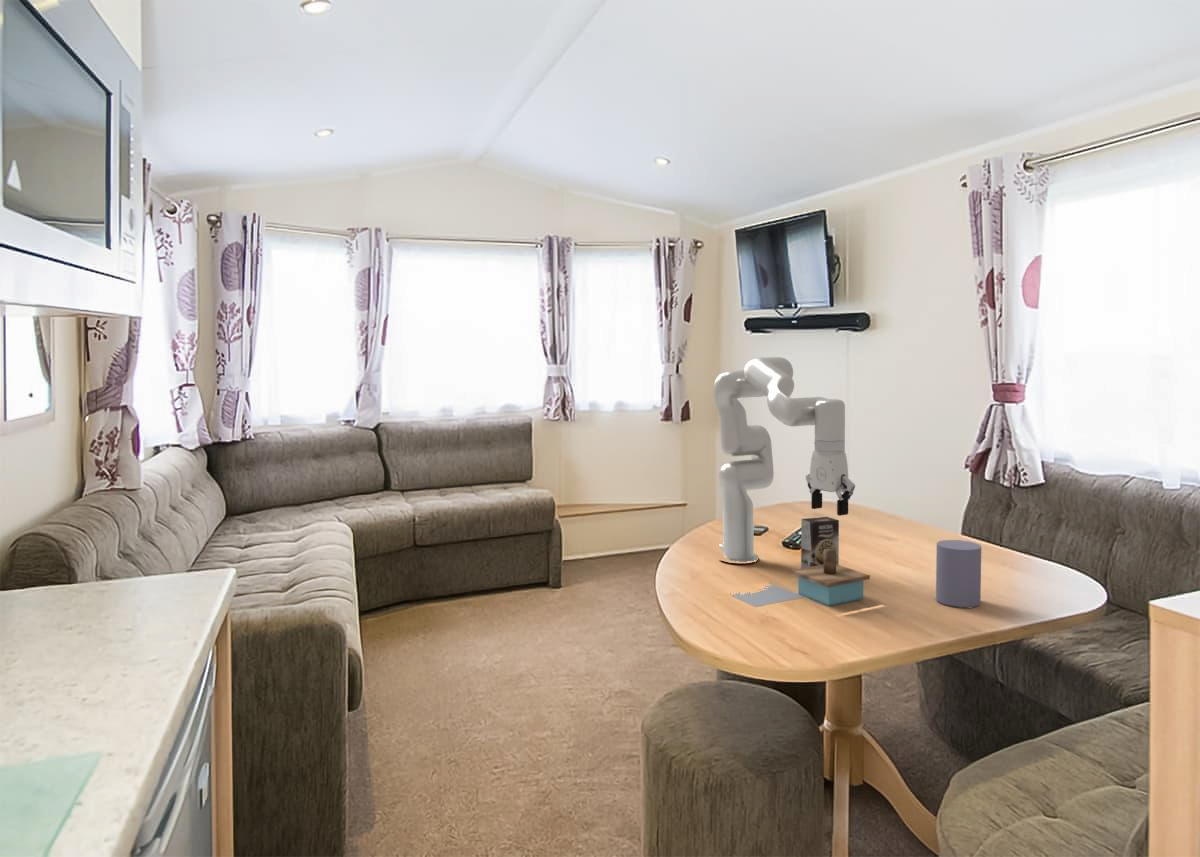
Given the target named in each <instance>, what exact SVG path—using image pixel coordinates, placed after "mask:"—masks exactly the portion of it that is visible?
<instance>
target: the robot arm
mask: <svg viewBox="0 0 1200 857" xmlns="http://www.w3.org/2000/svg"><path fill="white" fill-rule="evenodd" d="M793 377H794V369H793V366H792V363H791V362H790V361H789V359H787V358H785V357H781V356H779V357H777V356H775V357H774V356H773V357H771V356H770V357H756V358H753V359H751V360H749V361H748V362H747V363H746V364H745V366H744V369H741V370H728V371H724V372H722V373H720V374H719V375H717V377H716V378H715V381H714V383H713V397H714V398H713V399H714V403H715V405H716V409H717V413H718V420H719V430H720V431H719V433H720V444H721V449H722V452H723V453H724V455H726V456H727V457H744V456H745V457H746V456H747V457H748V456H750V457H751V459H744V460H743V459H742V460H732V461H729V462H726V463H724V464H723V465H722V466H721V467H720V469H719V472H718V479H719V484H720V489H721V497H722V498H721V499H722V500H721V501H722V543H720V544H719V545H718V547H719V549H722V552H721V553H723V555H724V557H725V558H728V559H729V560H730V561H735V562H736V561H739V562H747V561H754V560H757V559H758V558H759V559H760V556H759V555H758V554H756V553H754V550H755V548H754V546H755V545H754V543H755V542H754V538H755V537H754V534H755V533H754V531H755V530H754V529H755V528H754V526H755V525H754V503H753V501H752V499H751V498H750V496H749V495H748V493H747V491H750V490H752V491H753V490H761V489H766V488H768V487H770V486H771V485H772V484H773V481H774V461H773V460H774V458H773V447H772V439H771V436H770V434H769V432H768V430H767V428H765V427H764V426H762V425H761V424H760V425H759V424H751V425H748V420H747V413H746V412H747V411H746V409H745V407H744V406H743V404H742V403H741V402H740V400H738V399H741V398H742V399H744V398H746V399H747V398H761V397H766V402H767V407H768V410H769V412H770V414H771V415H772V416H773V417H774V418H776V419H777V420H778V421H779V422H781V423H782V424H784V425H785V426H788V427H805V426H806V427H807V426H814V443H813V444H814V450H813V451H812V454H811V459H810V467H809V474H807V475H806V476H805V480H806V483H807V487H808V489H809V494H811V497H810V498H811V503H810V504H811V507H810V508H811V509H812V510H816V509H822V508H823V493H822V491H824V492H828V493H829V492H830V493H835V494H836V497H837V498H838V499H837V501H836V515H837V516H848V514H849V500H851V497H852V496H853V495H854V490H855V488H856V484H855V483H854V482H853V481H852V480H850V478H849V469H848V468H849V466H848V459H847V458H848V457H847V454H846V452H845V451H846V404H845V402H844V401H843V400H842V399H838V398H837V399H836V398H832V399H831V398H825V397H822V396H815V397H813V396H812V397H811V396H810V397H809V396H807V397H794V398H792V397H791V395H792V394H793V392H794V390H795V381H794V379H793Z"/></svg>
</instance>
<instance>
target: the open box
mask: <svg viewBox="0 0 1200 857" xmlns="http://www.w3.org/2000/svg"><path fill="white" fill-rule="evenodd" d="M797 580H798V581H797V582H798V584H797V586H798V591H797V592H798V593H797V594H799V595H801V596H804V597H803V598H807V599H809V600H812V601H815V602H817V603H819V604H820V605H821V604H822V605H824V606H826V607H834V606H837V605H841V604H847V603H851V602H856V601H857V602H858V601H861V600H864V580H863V581H858V582H853V583H848V584H842V585H837V586H832V587H825V586H823V585H820V584H817V583H815V582H812V581H809V580H807V579H804V578H801V577H799V576H797Z"/></svg>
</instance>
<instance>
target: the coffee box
mask: <svg viewBox="0 0 1200 857" xmlns="http://www.w3.org/2000/svg"><path fill="white" fill-rule="evenodd" d="M839 529H840V520H838V519H836V518H833V517H829V516H821V517H820V516H819V517H809V518H801V532H800V533H801V535H800V536H801V537H800V538H801V539H800V540H801V541H800V542H801V548H800V549H801V551H800V555H801V556H800V568H806V567H812V566H817V565H823V564H824V549H834V550H836V564H837V565H839V562H840V559H839V555H840V554H839V552H840V550H839V549H840V548H839V546H840V545H839V544H840V543H839V542H840V541H839V539H840V538H839V536H840V535H839V534H840V530H839Z"/></svg>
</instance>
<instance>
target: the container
mask: <svg viewBox="0 0 1200 857" xmlns="http://www.w3.org/2000/svg"><path fill="white" fill-rule="evenodd" d="M935 561H936V566H935V567H936V569H935V572H936V573H935V574H936V575H935V577H936V578H935V585H936V586H935V589H936V590H935V599H936V601H937V602H938V603H940V604H942V605H944V604H945V605H944V606H947V605H948V607H951V606H952V608H957V607H973V608H976V607H978V606H980V605H981V597H982V596H981V590H982V589H981V587H982V586H981V584H982V545H981V544H979V543H977V542H974V541H968V540H959V539H958V540H957V539H944V540H940V541H937V542H936V560H935ZM975 606H976V607H975Z"/></svg>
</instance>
